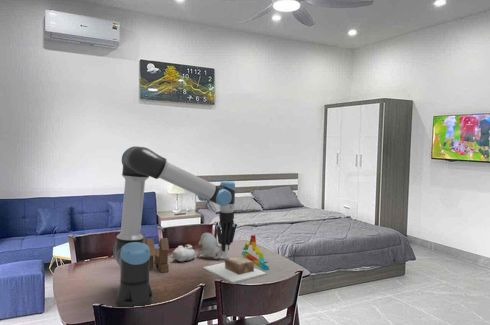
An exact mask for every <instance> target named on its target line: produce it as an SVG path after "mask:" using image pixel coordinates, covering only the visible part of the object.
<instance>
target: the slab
mask: <svg viewBox="0 0 490 325" xmlns="http://www.w3.org/2000/svg"><path fill="white" fill-rule="evenodd" d="M224 263H225V269H228V270H230V271H232V272H234V273H236V274H238V275H240V274H244V273H248V272H252V271H254V268H255V264H254V261H251V260H249V259H248V258H246V257H245V256H240V255H239V256H233V257H228V258H225V260H224Z"/></svg>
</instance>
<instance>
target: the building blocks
mask: <svg viewBox="0 0 490 325" xmlns="http://www.w3.org/2000/svg"><path fill="white" fill-rule="evenodd" d="M141 235H142V236H143V243H144V244H146V245H148V246H149V249H150V269H151V268H154V264H155V265H156V266H157V269H158V270H159V272H160V273H169V268H170V267H169V262H168V261H169V257H168V256H169V251H170V247H169V246H170V245H169V238H168V237H162V238H159V242H158V248H156V247H155V240H154V238H146V234H145V233H141Z"/></svg>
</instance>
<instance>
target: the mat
mask: <svg viewBox="0 0 490 325" xmlns="http://www.w3.org/2000/svg"><path fill="white" fill-rule="evenodd" d="M202 269H204V270H206V271H207V272H210V273H211V274H213V275H215V276H218V277H219V278H221V279H223V280H225V281H227V282H229V283H231V284H237V283H240V282H243V281H247V280H251V279H254V278H258V277H264V276H266V275H267V272H264V270H263V271H262V270H260V269H258V268H255V267H254V271H252V272H248V273H244V274H240V275H238V274H236V273H234V272H232V271H230V270H228V269H225V262H220V263H217V264H212V265H207V266H203V268H202Z"/></svg>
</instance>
